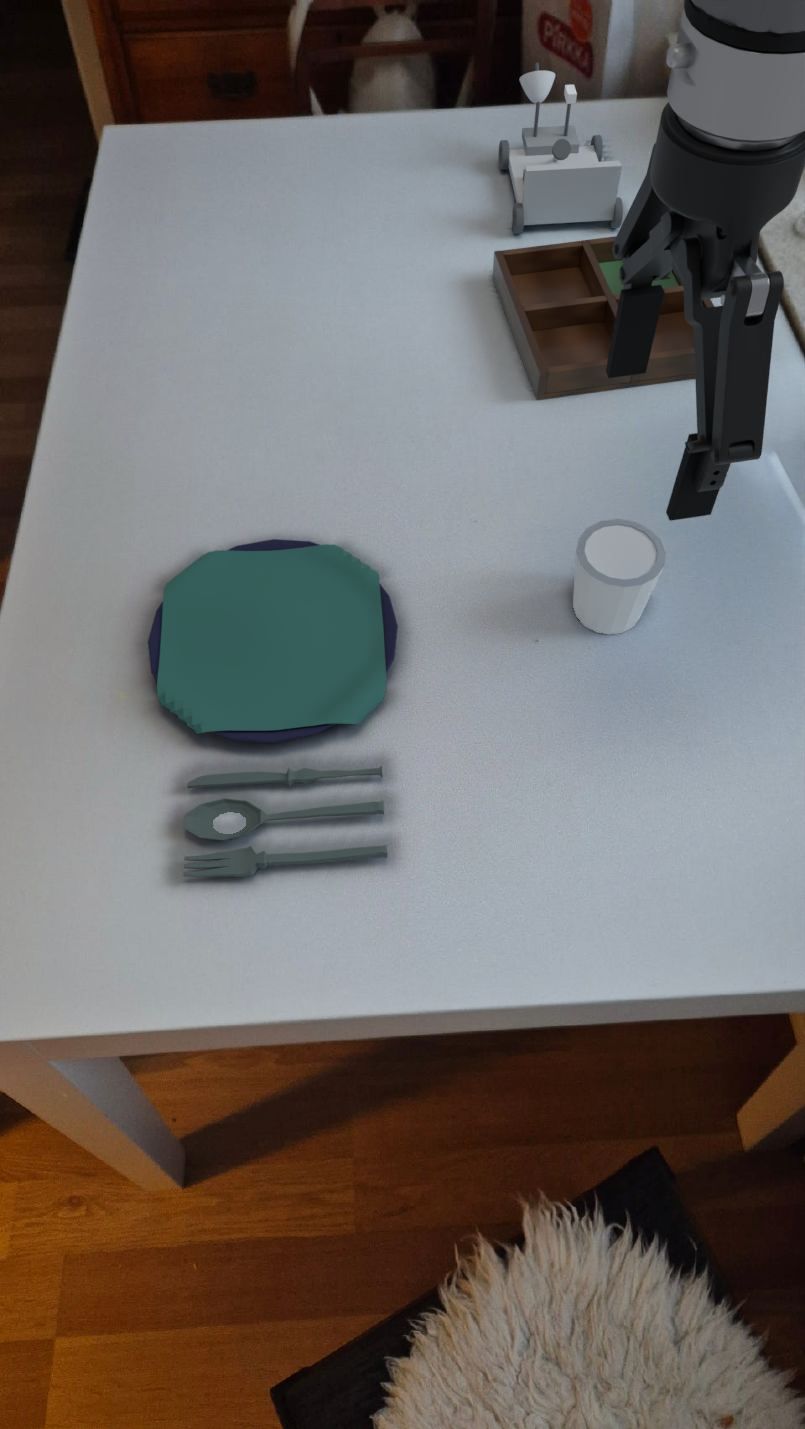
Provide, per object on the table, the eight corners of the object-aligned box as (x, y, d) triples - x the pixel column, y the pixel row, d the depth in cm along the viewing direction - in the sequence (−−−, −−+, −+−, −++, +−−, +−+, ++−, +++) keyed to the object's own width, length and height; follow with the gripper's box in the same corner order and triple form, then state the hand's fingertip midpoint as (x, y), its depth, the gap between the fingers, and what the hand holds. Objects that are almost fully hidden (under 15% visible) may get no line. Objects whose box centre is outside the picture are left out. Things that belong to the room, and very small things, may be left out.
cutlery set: (390, 546, 87) (390, 528, 85) (416, 868, 71) (416, 855, 70) (160, 560, 87) (154, 542, 85) (134, 887, 71) (126, 875, 69)
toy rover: (500, 59, 111) (604, 54, 112) (495, 148, 120) (592, 143, 120) (522, 149, 102) (636, 143, 102) (514, 239, 110) (619, 233, 110)
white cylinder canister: (551, 588, 85) (561, 532, 79) (624, 565, 86) (640, 508, 80) (587, 651, 81) (601, 596, 75) (663, 626, 82) (682, 570, 76)
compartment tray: (667, 256, 108) (673, 229, 106) (728, 374, 98) (736, 347, 96) (492, 278, 107) (494, 251, 104) (536, 400, 97) (539, 373, 94)
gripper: (596, 0, 56) (553, 328, 74) (759, 275, 43) (658, 591, 61) (726, -14, 56) (652, 315, 74) (926, 253, 43) (777, 572, 61)
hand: (655, 439), depth 68 cm, fingers open, 13 cm apart
